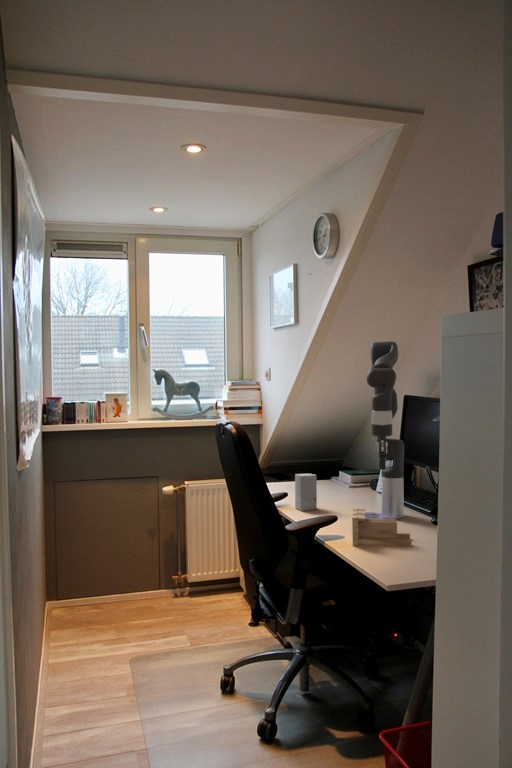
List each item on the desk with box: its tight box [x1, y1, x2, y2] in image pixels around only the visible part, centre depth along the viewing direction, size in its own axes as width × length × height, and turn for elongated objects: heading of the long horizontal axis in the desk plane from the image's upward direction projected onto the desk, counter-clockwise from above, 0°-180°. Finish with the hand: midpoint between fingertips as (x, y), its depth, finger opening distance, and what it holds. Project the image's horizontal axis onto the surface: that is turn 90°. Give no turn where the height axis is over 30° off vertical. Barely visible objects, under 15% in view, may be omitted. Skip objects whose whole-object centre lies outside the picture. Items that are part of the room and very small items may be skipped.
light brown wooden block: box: [358, 518, 398, 539], centre depth 235 cm, size 5×14×8 cm, turn 80°
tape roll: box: [365, 511, 387, 519], centre depth 254 cm, size 12×12×5 cm
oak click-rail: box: [351, 508, 412, 547], centre depth 235 cm, size 14×21×10 cm, turn 80°
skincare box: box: [294, 473, 318, 512], centre depth 286 cm, size 8×7×16 cm
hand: (382, 469), depth 233 cm, fingers closed
